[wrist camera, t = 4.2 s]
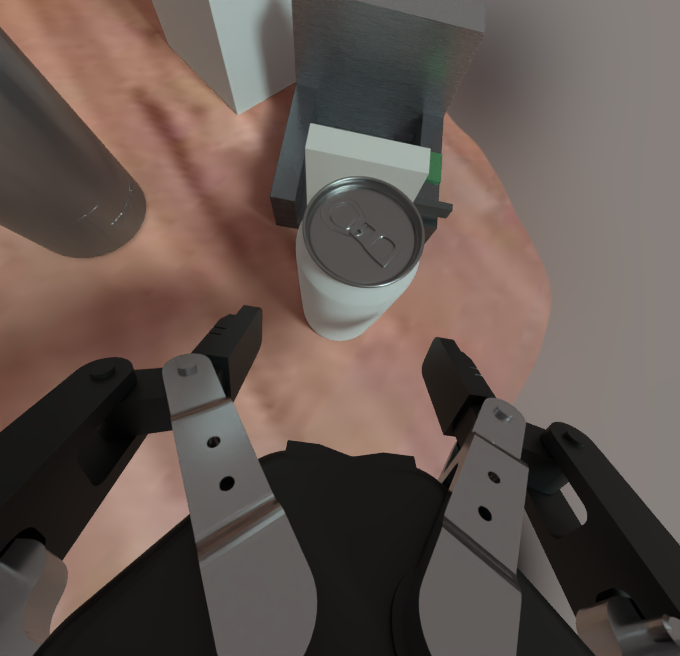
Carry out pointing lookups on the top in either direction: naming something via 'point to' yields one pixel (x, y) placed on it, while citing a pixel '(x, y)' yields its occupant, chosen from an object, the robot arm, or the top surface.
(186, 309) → the top surface
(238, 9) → the milk
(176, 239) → the top surface
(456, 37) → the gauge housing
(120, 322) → the top surface
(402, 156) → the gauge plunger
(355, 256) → the can
